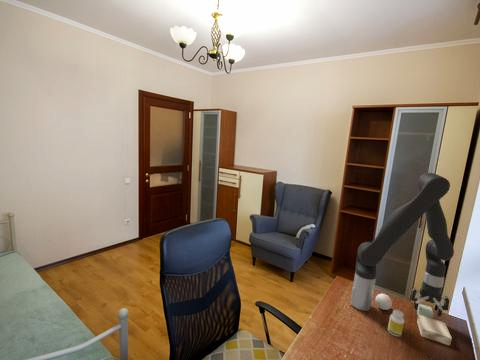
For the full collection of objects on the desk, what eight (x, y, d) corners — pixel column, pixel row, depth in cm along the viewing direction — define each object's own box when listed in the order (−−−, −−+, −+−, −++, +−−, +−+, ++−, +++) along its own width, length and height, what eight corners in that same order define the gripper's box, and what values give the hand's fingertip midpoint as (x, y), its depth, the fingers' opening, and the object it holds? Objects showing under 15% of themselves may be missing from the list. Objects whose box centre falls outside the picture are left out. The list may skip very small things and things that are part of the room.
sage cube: (418, 318, 118) (420, 309, 117) (417, 312, 123) (418, 303, 122) (431, 322, 116) (433, 313, 115) (429, 316, 121) (431, 307, 120)
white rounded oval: (373, 301, 129) (375, 288, 128) (389, 306, 126) (392, 293, 125) (374, 313, 121) (376, 300, 119) (392, 318, 117) (394, 305, 116)
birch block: (421, 336, 108) (422, 328, 107) (416, 321, 117) (418, 314, 116) (449, 346, 104) (451, 338, 103) (443, 330, 113) (444, 322, 112)
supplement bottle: (403, 338, 106) (407, 318, 104) (390, 335, 107) (393, 316, 105) (398, 328, 112) (402, 309, 110) (385, 326, 113) (389, 307, 111)
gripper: (415, 281, 115) (410, 311, 118) (454, 291, 109) (447, 323, 112) (413, 273, 122) (408, 302, 125) (449, 282, 115) (443, 312, 119)
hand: (426, 312), depth 118 cm, fingers open, 8 cm apart
